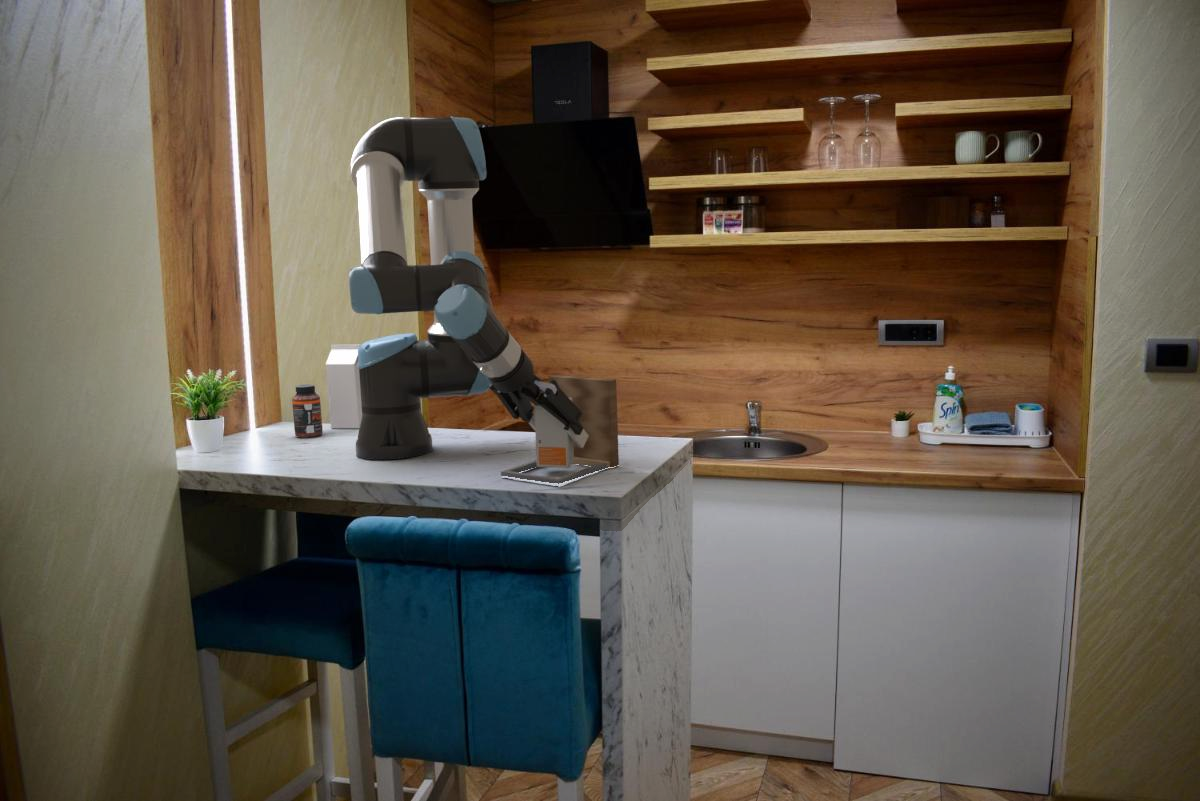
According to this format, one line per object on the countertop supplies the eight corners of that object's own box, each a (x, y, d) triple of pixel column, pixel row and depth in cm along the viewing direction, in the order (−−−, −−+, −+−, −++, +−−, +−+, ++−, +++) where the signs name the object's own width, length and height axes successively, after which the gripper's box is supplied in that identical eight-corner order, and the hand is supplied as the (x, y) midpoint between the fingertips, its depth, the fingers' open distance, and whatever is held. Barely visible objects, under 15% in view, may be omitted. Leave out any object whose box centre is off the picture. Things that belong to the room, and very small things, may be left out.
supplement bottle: (318, 438, 204) (313, 387, 202) (291, 438, 204) (286, 388, 202) (326, 432, 210) (322, 382, 208) (300, 433, 210) (295, 383, 208)
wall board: (551, 459, 177) (548, 376, 174) (558, 457, 178) (555, 375, 176) (612, 468, 169) (609, 381, 166) (618, 466, 170) (616, 379, 167)
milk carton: (359, 429, 213) (352, 346, 209) (330, 428, 214) (323, 346, 211) (373, 422, 220) (366, 342, 216) (345, 422, 221) (338, 342, 218)
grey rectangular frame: (501, 478, 165) (500, 471, 164) (554, 460, 176) (553, 454, 176) (559, 487, 157) (558, 480, 157) (610, 468, 169) (610, 461, 169)
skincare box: (536, 467, 165) (533, 401, 163) (542, 462, 169) (539, 397, 167) (569, 468, 164) (566, 401, 162) (575, 462, 168) (572, 397, 166)
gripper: (448, 376, 157) (516, 451, 173) (540, 384, 145) (603, 463, 161) (468, 341, 160) (533, 417, 176) (560, 346, 149) (620, 427, 165)
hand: (567, 439), depth 169 cm, fingers closed on skincare box, 7 cm apart
